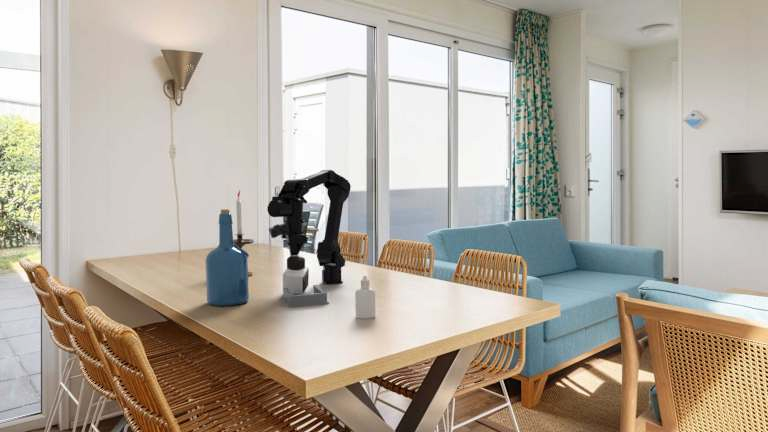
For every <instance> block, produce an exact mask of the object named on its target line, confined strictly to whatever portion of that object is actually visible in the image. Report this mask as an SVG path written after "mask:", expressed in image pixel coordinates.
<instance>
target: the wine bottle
mask: <svg viewBox="0 0 768 432" xmlns="http://www.w3.org/2000/svg"><path fill="white" fill-rule="evenodd" d="M218 225H219V227H218V228H219V229H218V231H219V232H218V233H219V234H218V235H219V239H218V240H219V241H218V245H217V247H215V248H213V249H211V250H210V251H209V252H208V253H207V255H206V258H205V277H206V278H205V279H206V282H205V283H206V301H207V303H208V304H209V305H211V306H216V307H231V306H236V305H237V306H238V304H239V305H242V304H244V303H246V302H248V301H249V298H250V291H249V289H250V288H249V287H250V285H249V277H248V272H249V257H250V254H249V253H248V252H247V251H246V250H244V249H243V248H242V249H241V248H240V247H238V246H237V245H236V244H235V243H233V240H234V235H233V234H234V232H233V225H234V224H233V217H232V213H231V212H230V209H228V208H225V209H223V208H222V209H221V210H220V213H219V216H218Z"/></svg>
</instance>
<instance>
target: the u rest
mask: <svg viewBox="0 0 768 432" xmlns="http://www.w3.org/2000/svg"><path fill="white" fill-rule="evenodd" d="M281 299H282V300H283V302H284V304H286V306H287V307H288V308H296V307H297V308H298V307H308V306H309V307H310V306H318V305H329V304H330V303H329V301H328V294H327V292H326V291H325V290H324V289H322V288H321V287H320V286H319V285H318V284H315V285H314V284H313V292H312V293H305V294H303V295H300V294H292V293H291V292H290V291H289V290H288V288H287V287H286V288H283V287H282V296H281Z"/></svg>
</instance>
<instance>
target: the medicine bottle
mask: <svg viewBox="0 0 768 432" xmlns="http://www.w3.org/2000/svg"><path fill="white" fill-rule="evenodd" d="M309 272H310V271H309V267H307V266H306V258H305V257H304V256H302V255H300V254H298V255H293V256H288V257H287V259H286V269H285V270H284V272H283V273H282V289H283V288H286V287H287V288H288V290H289V291H290V292H291V293H292V294H293V295H303V294H304V293H305V291H306V290H307V288H308V286H309Z"/></svg>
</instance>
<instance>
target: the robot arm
mask: <svg viewBox="0 0 768 432" xmlns="http://www.w3.org/2000/svg"><path fill="white" fill-rule="evenodd" d="M320 185H323V186H324V188H325V189H326V190H327V197H328V199H329V201H330V202H329V208H328V212H327V213H328V214H327V218H326V219H327V221H326V227H325V232H324V233H325V234H324V238H323V240H322V241H318V243H317V249H316V251H315V252H316V258H317V261H318V264H319V265H318V266H319V267H322V270H321V281H322V282H323V283H324V284H325V285H331V284H332V285H333V284H343V282H344V281H343V280H342V268H343V267H345V266H346V260H345V258H344V257H343V255H342V254H341V251H342V250H341V246H340V244H339V235H340V234H339V233H340V228H341V227H340V226H341V221H342V220H341V219H342V214H343V208H344V203H345V202H346V200H347V199H348V198H349V195H350V193H351V183H350V182H349V180H348V179H346V178H345V177H344V176H342V175H340V174H338V173H336V172H335V171H334V170H332V169H322V170H320V171H318V172H316V173H314V174H311V175H308V176H306V177H302V178H296V179H295V178H294V179H287V180H285V181H284V182H283V186H282V188H281V189H280V191H279V193H278V196H271V200H270V201H269V203H268V205H267V213H268V215H269V216H270V217H272V218H284V219H283V223H281V224H278V223H277V224H275V225H274V224H273V226H272V227H269V228H268V232H269V234H270V237H271V238H272V239H274V238H275V239H276V238H277V237H279V236H280V238H281V239H283V242H284V243H285V244H286V245H287V246H288V249H289V254H290V256H293V255H300V252H301V250H302V247H303V245H304V244H308V236H306V234H304V231H303V228H304V227H303V224H304V222H305V220H304V217H303V215H304V204H307V203H308V201H307V200H306V199H305V195H307V194H308V193H309V192H310V190H311V189H313V188H316V187H318V186H320ZM284 239H286V240H284ZM290 256H289V257H290Z"/></svg>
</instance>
